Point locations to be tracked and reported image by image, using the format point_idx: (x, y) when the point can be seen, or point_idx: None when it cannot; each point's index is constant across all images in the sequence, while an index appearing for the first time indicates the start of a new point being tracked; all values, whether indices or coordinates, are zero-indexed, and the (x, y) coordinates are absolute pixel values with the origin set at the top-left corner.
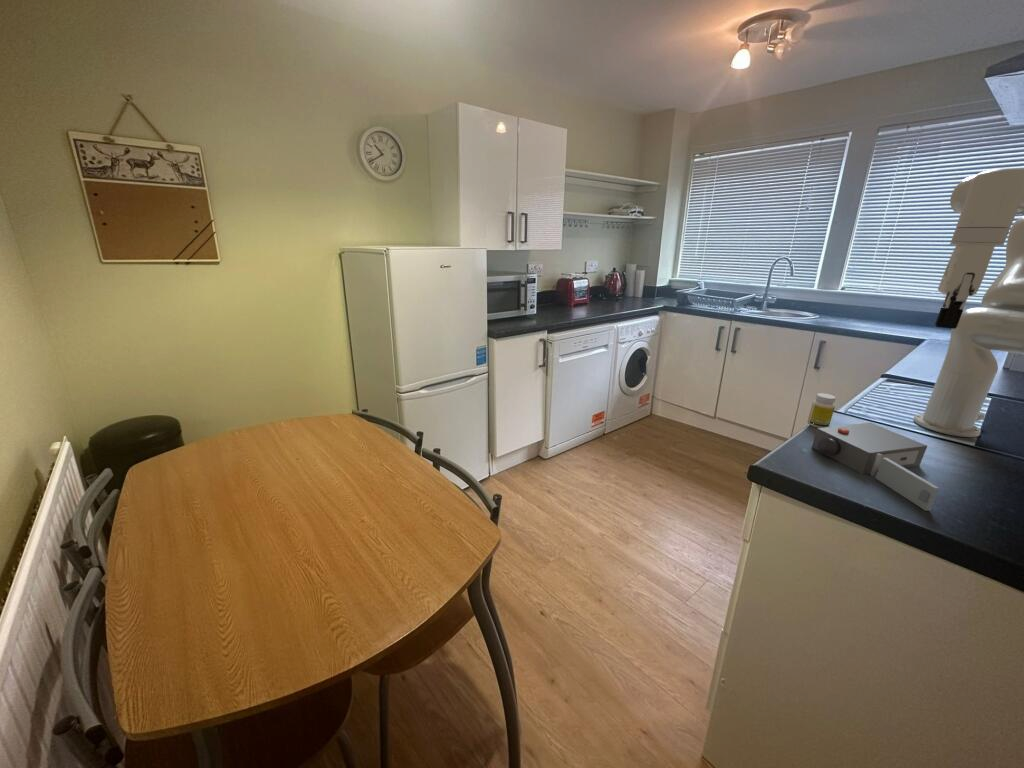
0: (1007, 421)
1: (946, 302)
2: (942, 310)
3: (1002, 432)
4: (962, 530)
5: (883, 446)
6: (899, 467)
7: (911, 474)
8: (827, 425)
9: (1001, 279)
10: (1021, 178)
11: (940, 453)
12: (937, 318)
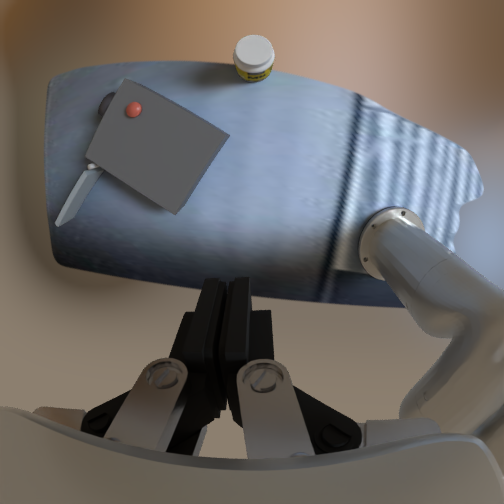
0: None
1: (149, 397)
2: (188, 345)
3: None
4: (65, 238)
5: (119, 165)
6: (72, 191)
7: (65, 203)
8: (244, 79)
9: None
10: None
11: (263, 230)
12: (232, 299)
